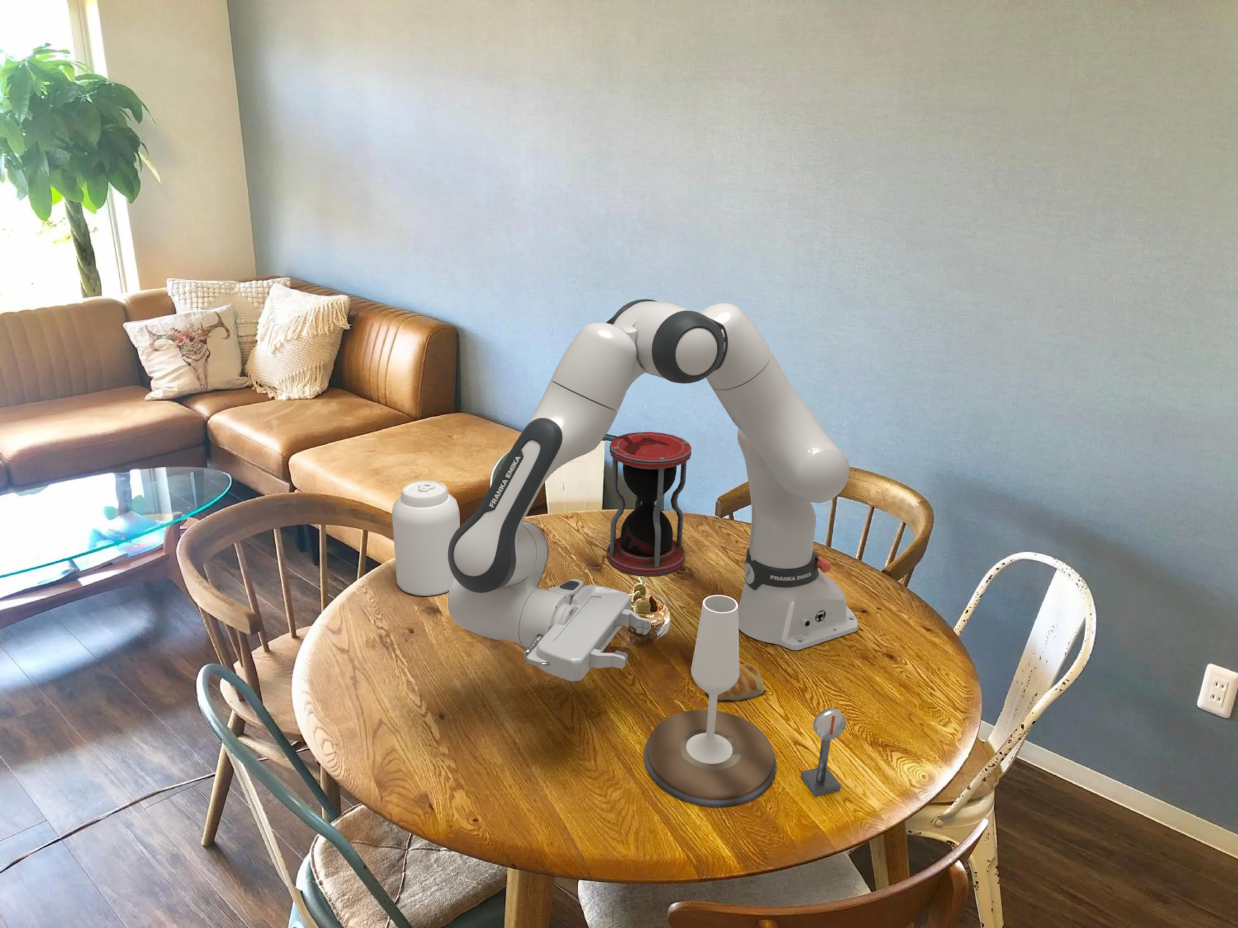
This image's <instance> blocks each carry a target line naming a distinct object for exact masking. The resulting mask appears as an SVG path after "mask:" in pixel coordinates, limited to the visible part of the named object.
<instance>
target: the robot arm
mask: <svg viewBox="0 0 1238 928" xmlns="http://www.w3.org/2000/svg"><path fill="white" fill-rule="evenodd" d="M645 373H646V374H649V375H651V376H654V377H658V378H662V379H665V380H666V381H669V382H671V383H674V384H682V385H683V384H684V385H685V384H686V385H688V384H694V383H696V382H700V381H702V380H704V379H706V381H707V382H708V384H709V386H710V388H711V389H712V391H713V393H714V394H715V395H716V397H717V399H718V400H719V402H720V404H721V405H722V407H723V408H724V410H725V412H726V413H727V415H728V416H729V419H730V420H731V422H733V423H734V425H735V426H736V427H737V429H738V430H737V442H738V445H739V447H740V450H741V453H742V455H743V458H744V462H745V463H744V464H745V469H746V475H747V482H748V488H749V495H750V502H751V503H750V504H751V523H750V534H749V535H750V536H749V546H748V547H747V549H746V554H745V562H744V583H743V589H742V594H741V597H740V600H739V602H738V603H739V604H738V628H739V631H741V632H742V633H743V634H745V635H746V636H748V637H750V638H752V639H755V640H757V641H760V642H764V643H768V644H769V643H770V644H775V645H779V646H782V647H784V648H786V649H789V650H792V651H799V650H802V649H803V650H804V649H805V648H809V647H813V646H815V645H819V644H821V643H824V642H828V641H830V640H834V639H836V638H837V639H838V638H839V637H842V636H846V635H848V634H852V633H855V632H857V631H858V628H859V622H858V619H857V617H856V615H855V613H854V612H853V611H852V610H851V609H850V607H848V606H847V600H846V596H845V593H844V592H843V590H842V589H841V588H840V585H838V584H837V583H836V582H834V580H832V579H831V578H830V577H829V576H828V575H826V573H828V572H830V571H831V569H832V564H831V562H829V561H828V560H827V559H825V558H823V557H822V558H820V555H819V554H818V553H817V552H815V551H813V549H814V541H815V533H816V527H817V516H816V512H815V508H814V506H813V504H812V503H814V504H815V503H816V504H820V503H825V502H828V501H831V500H833V499H834V498H835V497H837V496H838V495H839V494H840V493H841V492H842V491H843V490H844V489H845V487H846V484H847V483H848V480H849V478H850V477H849V476H850V471H851V469H850V463H849V459H848V458H847V456H846V455H845V454H844V452H843V451H842V450H841V448H840V447H839V446H838V445H837V444H836V443H835V441H834V440H833V439H832V437H831V436H830V435H829V434H828V432H827V431H826V430H825V428H824V426H823V425H822V424H821V422H820V421H819V419H818V418H817V417H816V415H815V414H814V413H813V412H812V411H811V409H810V408H809V406H808V405H807V404H806V402H805V401H804V400H803V399H802V397H800V395H799V394H798V392H796V390H795V388H794V387H793V386H792V384H791V383H790V381H789V380H788V377H787V376H786V374H785V372H784V370H783V369H782V367H781V366H780V363H779V362H778V360H777V358H776V357H775V355H774V353H773V351H772V350H771V348H770V346H769V344H768V343H767V342H766V340H765V337H763V335H762V334H761V332H760V331H759V330H758V328H757V327H756V326H755V324H754V323H753V321H751V320H750V318H749V317H748V315H746V314H745V312H744V311H742V309H740V308H739V307H738V306H737V305H735V304H733V303H729V302H718V303H715V304H712V305H710V306H708V307H707V306H706V308H703V310H701V311H700V312H698V311H694V310H691V309H688V308H687V307H683V306H682V305H678V304H674V303H672V302H663V301H662V302H661V301H657V300H655V299H649V298H643V299H636V300H632V301H630V302H628V303H626V304H624V305H623V306H622V307H620V308H619V309H618V310H617V312H615V314H613V316H612V317H611V318H610V319H609V320H607V321H606V322H600V321H598V322H592V323H588V324H585V326H583V327H582V328H581V329H580V330H579V332H578V333H577V334H576V335H575V337H574V338H573V339H572V342H571V343H570V344H569V346H568V347H567V349H566V351H565V352H564V354H563V355H562V357H561V359H560V360H559V363H558V364H557V365H556V368H555V370H554V372H553V374H552V376H551V378H550V381H549V382H548V384H547V387H546V389H545V391H544V393H543V394H542V397H541V399H540V401H539V403H538V404H537V407H536V409H535V411H534V413H533V414H532V416H531V418H530V419H529V421H528V423H527V424H526V426H525V427H524V429H523V430H522V432H521V433H520V435H519V436H518V438H517V439H516V441H515V443H514V444H513V446H512V447H511V450H510V451H509V453H508V455H507V456H506V458H505V460H504V461H503V463H502V465H501V467H500V469H499V470H498V472H497V474H496V475H495V478H494V479H493V482H492V483H491V485H490V487H489V488H488V490H487V492H486V494H485V496H484V497H483V499H482V501H481V502H480V505H478V507H477V508H476V510H475V512H474V513H473V514H471V516H470V517H469V518H468V519H467V520H466V521H465V522H463V523H462V524H460V527H459V528H458V529H457V530H456V532H455V533H454V535H453V536H452V538H451V541H450V543H449V548H448V562H449V566H450V569H451V572H452V574H453V576H454V577H455V579H454V581H453V582H452V584H451V586H450V590H449V591H448V595H447V607H448V611H449V615H450V617H451V619H452V620H453V622H454V623H456V625H458V627H459V626H460V627H461V628H463V629H465V630H467V631H469V632H471V633H474V634H477V635H479V636H483V637H486V638H489V639H491V640H496V641H511V642H513V643H516V644H518V645H519V646H521V647H523V648H525V649H524V650H523V656H524V657H523V658H524V660H525V662H527V664H530V665H532V666H537V668H538V669H540V670H542V671H543V672H545V673H547V674H549V675H553V676H555V677H556V678H557V677H558V678H560V679H563V680H566V681H569V682H577V681H582V679H584V677H585V676H586V675H587V673H588V672H589V671H590V669H591V668H595V669H604V668H605V669H606V668H612V667H613V668H616V669H622V670H623V669H624V668H625V667H626V665H627V664H628V663H629V662H628V661H629V655H628V653H627V652H624V651H620V650H617V649H616V650H615V652H605V651H604V650H605V649H606V648H607V646H609V644H610V642H611V641H612V640H613V639H614V638H615V636H616V635H617V633H618V632H619V631H620V630H621V628H622V627H627V628H628V627H630V626H631V627H633V628H634V629H635V630H636V632H635V633H637V634H642V635H648V633H649V632H650V631H651V629H652V621H651V620H650V619H648V618H644V617H641V616H640V615H639V614H637V613H636V612H634V611H633V610H632V597H631V596H630V595H629V594H628V593H627V592H625V591H624V590H623V591H622V590H620V589H616V588H612V587H607V586H604V585H603V586H602V585H599V584H587V585H584V581H583V580H581V579H577V578H571V579H569V580H567V581H565V582H564V583H561V584H559V585H557V586H552V587H549V588H547V589H542V588H539V585H540V583H541V580H542V578H543V575H544V572H545V570H546V567H547V562H548V558H549V551H550V550H549V543H548V540H547V538H546V535H545V534H544V532H543V531H542V530H541V529H540V527H538V526H537V525H536V524H535V523H532V522H530V521H526V520H525V519H526V516H527V515H528V514H529V511H530V509H531V508H532V506H533V504H534V502H535V500H536V498H537V496H538V495H539V494H540V491H541V489H542V488H543V485H544V484H545V483H546V481H547V480H548V479H549V477H550V476H551V475H552V474H554V472H556V471H557V470H558V469H560V468H561V467H563V466H564V465H566V464H567V463H569V462H571V461H573V460H575V459H577V458H580V457H582V456H584V455H587V454H588V453H591V452H592V451H595V450H596V448H597V447H598V446H599V445H600V443H602V441H603V439H604V438H605V436H606V435H607V434H608V432H609V430H610V429H611V427H612V425H613V423H614V421H615V419H616V417H617V415H618V413H619V411H620V408H621V406H622V404H623V402H624V399H625V397H626V394H627V391H628V390H629V388H630V387H631V385H632V384H633V383H634V382H635V381H636V380H637V379H638V378H639V377H641V376H642V375H644V374H645Z"/></svg>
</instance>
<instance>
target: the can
mask: <svg viewBox="0 0 1238 928" xmlns="http://www.w3.org/2000/svg"><path fill="white" fill-rule="evenodd" d="M391 518H392V529H393V530H392V532H393V533H392V534H393V544H394V545H393V546H394V548H393V549H394V558H395V559H394V561H395V572H396V584H397V585H398V587H399V588H400V589H401V590H402V591H404V592H406V593H407V594H410V595H415V596H424V597H425V596H426V597H428V596H437V595H441V594H444V593H447V592H448V593H449V590H450V586H451V584H452V582H453V581H454V579H455V577H454V576H453V574H452V572H451V569H450V566H449V562H448V548H449V543H450V541H451V538H452V536H453V535H454V533H455V532H456V530H457V529H458V528H459V527H460V526H461V521H460V520H461V519H460V518H461V516H460V508H459V505H458V502H457V499H456V498H455V497H454V496H453V495H452V494H450V493H449V490H448V487H447V486H446V485H445V484H444V483H443V482H440V481H437V480H428V479H427V480H426V479H425V480H417V481H413V482H409V483H407V484H406V485H404V486H403V487H402V490H401V492H400V496H399V497H398V498H397V499H396V500H395V502H394V503H393V505H392V510H391Z"/></svg>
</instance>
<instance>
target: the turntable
mask: <svg viewBox="0 0 1238 928" xmlns="http://www.w3.org/2000/svg"><path fill="white" fill-rule="evenodd" d="M707 718H708V709H693V710H687V711H681V712H678V713H675V714H673V715H671V716H668V717H666V718H665V719H663V720H662V721H660V722H659V724H657V725H656V727H655V728H654V729H653V730H652V732H651V733H650V735H649V736H648V739H646V743H645V746H644V752H643V753H644V757H643V759H644V764H645V768H646V771H647V774H648V775H649V777H650V778H651V779H652V781H653V782H654V783H655V784H656V785H657V786H658V787H659V788H660V789H662V791H664V792H665V793H667V794H669V795H671V796H672V797H674V798H676V799H678V800H680V801H682V802H685V803H689V804H691V805H692V804H693V805H696V806H699V807H700V806H701V807H708V808H727V807H728V808H729V807H734V806H739V805H742V804H746V803H748V802H750V801H751V802H752V801H753V800H755V799H757V798H758V797H761V795H762V794H763V793H765V792H766V791H767V790H768V789H769V788H770V787H771V785H772V783H773V781H774V779H775V776H776V770H777V759H776V754H775V752H774V749H773V746H772V744H771V742H770V740H769V739H768V736H766V734H764V732H763V731H762V730H761V729H760V728H759V727H758V726H757V725H754V724H753V723H752V722H750V721H749V720H747V719H745V718H743V717H741V716H738V715H735V714H733V713H729V712H727V711H726V712H725V711H720V710H716V722H715V734H716V735H719V736H722V737H723V738H725V739H726V740H728V741H729V743H730V744H731V746H732V754H731V756H730V757H729V758H728V759H727V760H726V761H724V762H721V763H716V764H708V763H703V762H700V761H698V760H696V759H694V758H693V757H691V756H690V755H689V753H688V751H687V748H686V745H687V742H688V740H689V739H690V738H691V737H693V736H695V735H697V734H701V733H706V732H707Z"/></svg>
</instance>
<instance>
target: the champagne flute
mask: <svg viewBox="0 0 1238 928" xmlns="http://www.w3.org/2000/svg"><path fill="white" fill-rule="evenodd" d="M738 603H739V602H738V601H736V600H735V599H734V598H732V597H730V596H728V595H721V594H714V595H709V596H707V597H705V598H704V599H703V600H702V607H701V611H700V616H699V623H698V629H697V634H696V640H695V646H694V651H693V657H692V663H691V668H690V673H691V677H692V679H693V680H694V682H695V683H696V685H697V687H699V689H701V690H702V691H704V692H705V693H706V692H707V693H708V694H709V696H708V707H707V710H708V718H707V732H706V733H701V734H697V735H695V736H693V737H691V738H690V739H689V740H688V742H687V745H686V748H687V751H688V753H689V755H690V756H691V757H693V758H694V759H696V760H698V761H700V762H703V763H708V764H716V763H721V762H724V761H726V760H727V759H728V758H729V757H730V756H731V754H732V746H731V744H730V743H729V741H728V740H726V739H725V738H723V737H722V736H719V735H716V734H715V722H716V711H717V710H718V709H717V706H718V700H717V696H718V695H719V694H721V693H724V692H726V691H728V690H729V689H731V688H732V687H733V686H734V685H735V683H736V682H737V681H738V678H739V665H740V639H739V638H740V637H739V635H740V634H739V631H740V629H739V628H738V605H739V604H738Z"/></svg>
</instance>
